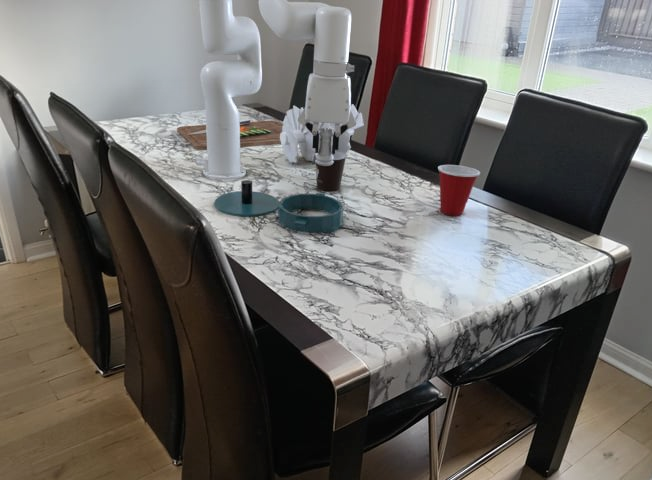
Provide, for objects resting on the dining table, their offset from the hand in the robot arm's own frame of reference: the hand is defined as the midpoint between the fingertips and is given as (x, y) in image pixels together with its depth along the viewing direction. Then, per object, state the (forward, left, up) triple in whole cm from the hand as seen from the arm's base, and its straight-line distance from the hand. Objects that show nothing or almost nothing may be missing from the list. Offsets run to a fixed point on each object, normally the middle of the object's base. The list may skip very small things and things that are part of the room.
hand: (325, 151), depth 135 cm
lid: (-21, +3, -17) cm, 27 cm away
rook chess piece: (0, 0, -3) cm, 3 cm away
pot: (-3, -1, -18) cm, 18 cm away
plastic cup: (+31, +19, -18) cm, 41 cm away
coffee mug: (-4, +25, -18) cm, 31 cm away
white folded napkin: (-14, +50, -18) cm, 55 cm away
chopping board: (-47, +67, -18) cm, 83 cm away
